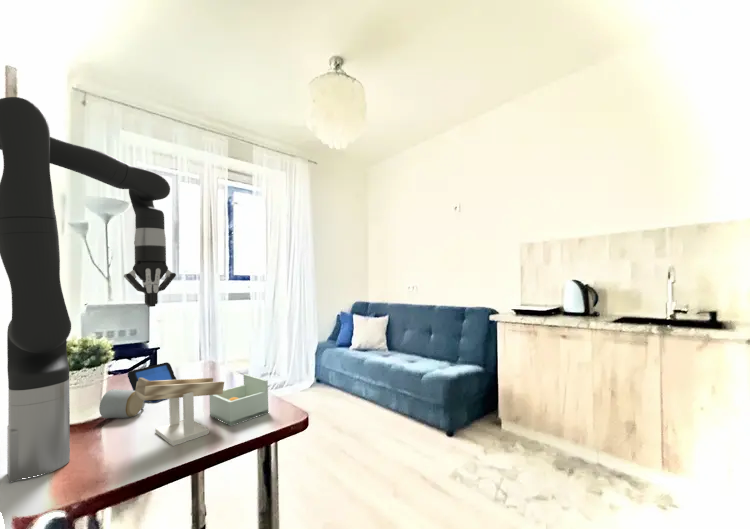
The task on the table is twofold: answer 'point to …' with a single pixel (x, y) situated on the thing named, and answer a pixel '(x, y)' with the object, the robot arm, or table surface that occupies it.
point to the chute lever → (176, 388)
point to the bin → (241, 401)
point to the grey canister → (120, 404)
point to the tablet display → (152, 375)
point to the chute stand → (181, 422)
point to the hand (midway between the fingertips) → (151, 306)
